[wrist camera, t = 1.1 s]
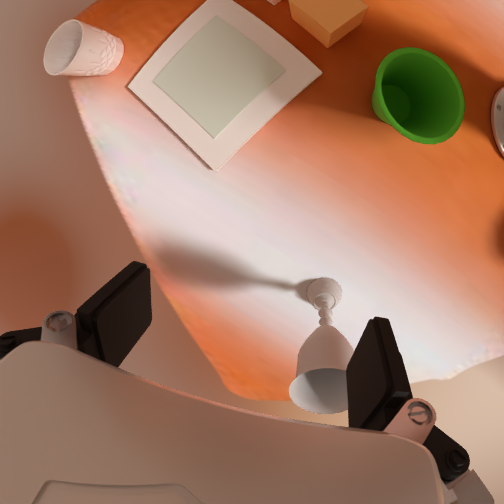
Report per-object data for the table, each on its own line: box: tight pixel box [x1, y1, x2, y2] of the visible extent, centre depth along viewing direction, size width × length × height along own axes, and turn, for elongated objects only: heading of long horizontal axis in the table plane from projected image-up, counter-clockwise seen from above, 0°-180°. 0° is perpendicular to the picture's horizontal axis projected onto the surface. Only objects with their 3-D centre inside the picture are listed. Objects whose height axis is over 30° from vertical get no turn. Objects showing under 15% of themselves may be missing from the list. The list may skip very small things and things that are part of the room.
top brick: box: [288, 0, 369, 49], centre depth 23 cm, size 6×6×6 cm
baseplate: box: [128, 0, 323, 172], centre depth 30 cm, size 18×18×1 cm
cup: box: [371, 47, 465, 144], centre depth 23 cm, size 9×9×11 cm
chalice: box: [289, 278, 354, 414], centre depth 31 cm, size 7×7×18 cm
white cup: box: [43, 19, 124, 76], centre depth 26 cm, size 8×8×10 cm
